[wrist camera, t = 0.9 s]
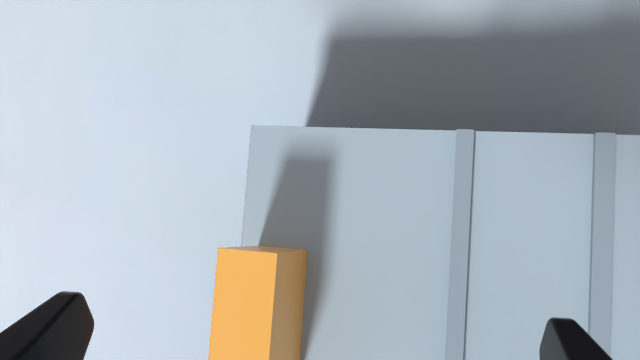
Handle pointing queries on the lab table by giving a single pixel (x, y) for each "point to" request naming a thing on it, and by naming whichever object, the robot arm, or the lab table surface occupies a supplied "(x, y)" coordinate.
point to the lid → (430, 245)
